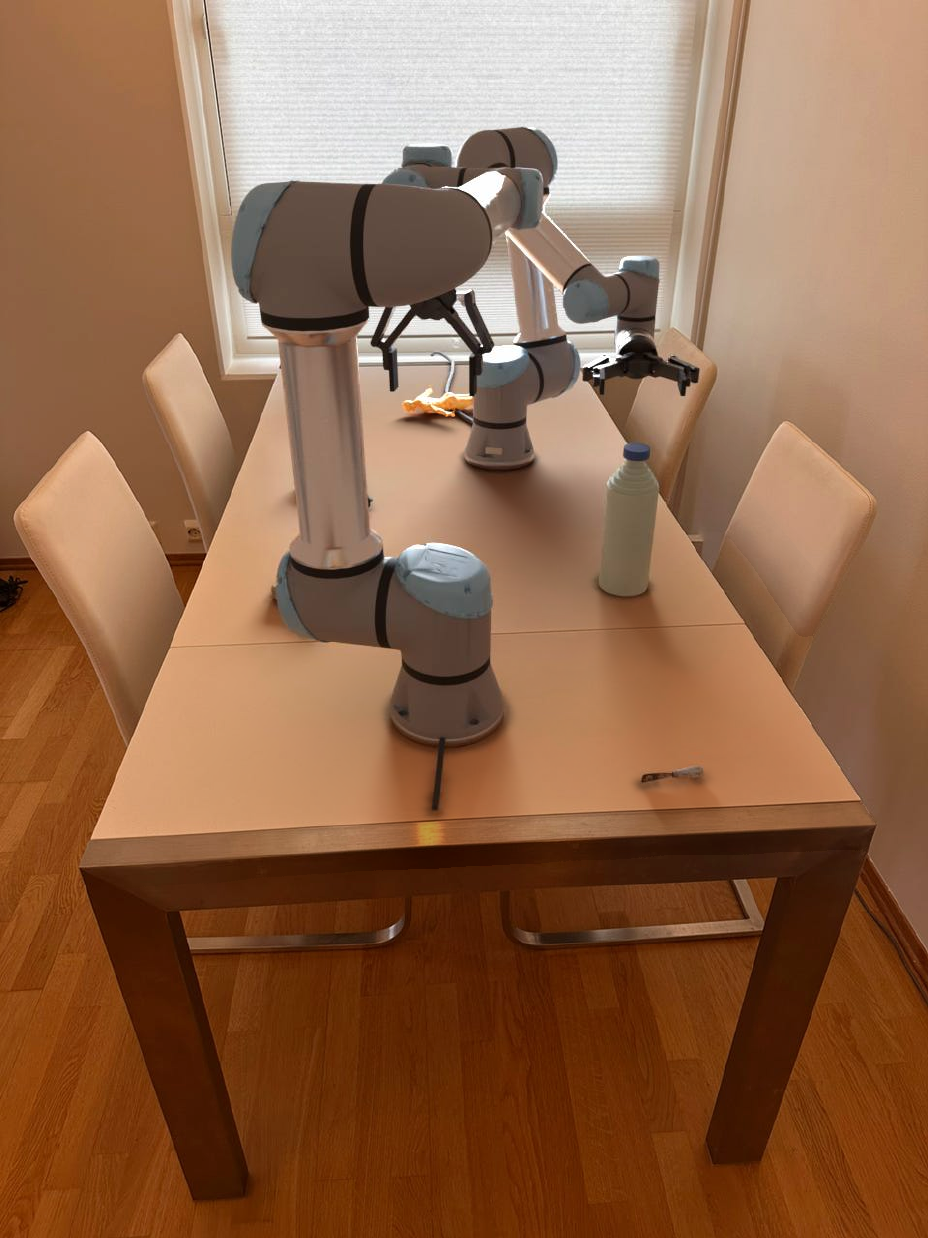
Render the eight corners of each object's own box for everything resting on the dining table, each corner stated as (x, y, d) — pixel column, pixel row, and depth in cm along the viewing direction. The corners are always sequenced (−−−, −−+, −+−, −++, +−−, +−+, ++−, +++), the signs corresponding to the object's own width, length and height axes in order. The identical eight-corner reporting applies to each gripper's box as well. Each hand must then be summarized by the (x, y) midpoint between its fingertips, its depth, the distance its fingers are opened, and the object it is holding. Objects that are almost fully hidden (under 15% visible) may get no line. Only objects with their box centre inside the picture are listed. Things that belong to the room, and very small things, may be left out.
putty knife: (703, 777, 109) (705, 767, 109) (642, 788, 108) (644, 777, 107) (700, 772, 110) (702, 762, 109) (639, 782, 109) (640, 771, 108)
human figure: (395, 413, 223) (394, 398, 221) (438, 390, 237) (438, 375, 235) (462, 429, 215) (462, 413, 213) (502, 404, 229) (503, 388, 227)
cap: (628, 449, 141) (629, 440, 140) (652, 454, 139) (654, 445, 138) (619, 458, 138) (619, 449, 137) (644, 463, 136) (645, 453, 135)
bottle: (608, 568, 155) (621, 436, 142) (653, 579, 152) (670, 445, 139) (591, 589, 149) (602, 453, 136) (637, 601, 146) (653, 463, 133)
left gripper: (513, 255, 139) (510, 389, 150) (360, 249, 144) (368, 380, 155) (505, 264, 133) (502, 403, 144) (345, 258, 137) (355, 393, 149)
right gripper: (701, 375, 169) (715, 410, 151) (569, 373, 172) (567, 407, 154) (706, 334, 165) (721, 366, 147) (571, 333, 168) (569, 364, 150)
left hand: (433, 391), depth 149 cm, fingers open, 13 cm apart
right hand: (642, 387), depth 151 cm, fingers open, 13 cm apart
